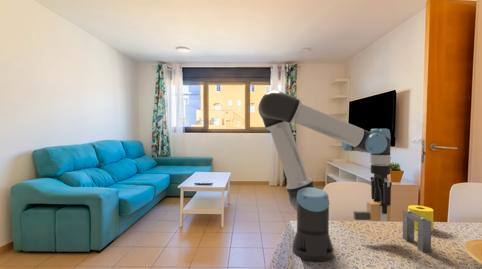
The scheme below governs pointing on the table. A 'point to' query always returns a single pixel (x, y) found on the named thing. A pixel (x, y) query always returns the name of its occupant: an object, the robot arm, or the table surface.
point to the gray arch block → (423, 230)
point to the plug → (371, 212)
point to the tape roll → (422, 214)
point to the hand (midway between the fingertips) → (380, 218)
